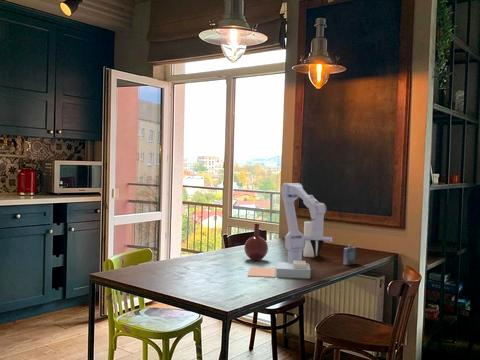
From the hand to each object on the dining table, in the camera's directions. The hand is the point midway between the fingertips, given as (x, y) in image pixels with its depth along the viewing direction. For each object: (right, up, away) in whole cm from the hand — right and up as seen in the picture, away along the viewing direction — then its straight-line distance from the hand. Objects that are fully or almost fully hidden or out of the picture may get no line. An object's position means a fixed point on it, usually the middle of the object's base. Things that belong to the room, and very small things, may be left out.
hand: (316, 255), depth 233 cm
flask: (+23, -9, +29) cm, 38 cm away
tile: (-8, -5, +1) cm, 10 cm away
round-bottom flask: (-28, -8, +33) cm, 44 cm away
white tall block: (+5, -8, +51) cm, 52 cm away
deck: (-11, -9, +1) cm, 14 cm away
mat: (-26, -9, +3) cm, 28 cm away
